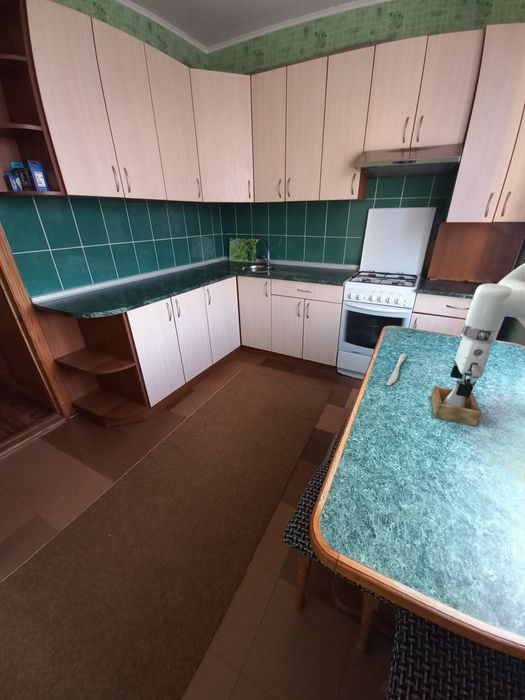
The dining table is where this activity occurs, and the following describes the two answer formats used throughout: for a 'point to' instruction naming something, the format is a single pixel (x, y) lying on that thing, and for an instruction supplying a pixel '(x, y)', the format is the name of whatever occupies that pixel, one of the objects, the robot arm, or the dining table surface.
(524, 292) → the robot arm
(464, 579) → the dining table surface
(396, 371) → the butter knife
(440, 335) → the dining table surface
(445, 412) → the square wooden frame
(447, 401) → the flask
